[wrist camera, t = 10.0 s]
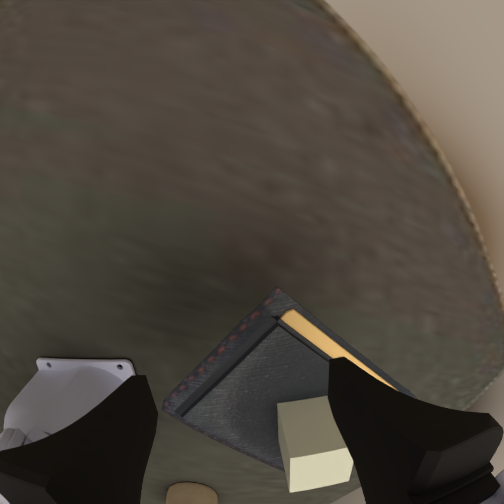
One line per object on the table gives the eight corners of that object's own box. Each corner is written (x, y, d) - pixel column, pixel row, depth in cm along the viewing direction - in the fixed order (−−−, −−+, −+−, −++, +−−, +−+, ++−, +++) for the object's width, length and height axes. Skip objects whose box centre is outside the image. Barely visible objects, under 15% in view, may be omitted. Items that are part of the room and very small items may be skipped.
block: (278, 440, 24) (289, 492, 18) (277, 403, 23) (290, 458, 17) (329, 431, 24) (348, 480, 18) (332, 394, 23) (357, 445, 17)
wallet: (150, 412, 22) (284, 280, 20) (154, 399, 24) (280, 272, 22) (312, 492, 26) (425, 405, 24) (309, 480, 28) (417, 395, 26)
